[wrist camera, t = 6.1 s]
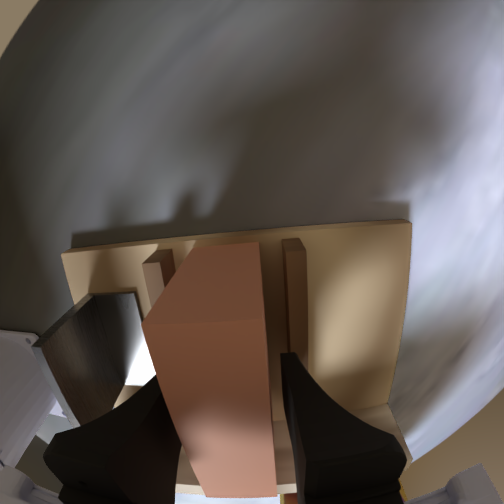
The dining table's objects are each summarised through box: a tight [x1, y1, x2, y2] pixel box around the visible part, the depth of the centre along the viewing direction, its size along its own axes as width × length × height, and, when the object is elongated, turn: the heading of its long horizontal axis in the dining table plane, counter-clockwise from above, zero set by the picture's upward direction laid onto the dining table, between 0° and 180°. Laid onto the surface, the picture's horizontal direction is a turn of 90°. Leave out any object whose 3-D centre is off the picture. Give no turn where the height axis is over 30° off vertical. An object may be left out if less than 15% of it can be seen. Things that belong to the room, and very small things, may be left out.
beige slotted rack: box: [61, 219, 413, 495], centre depth 14 cm, size 18×13×6 cm
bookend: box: [31, 291, 156, 428], centre depth 13 cm, size 3×6×6 cm, turn 5°
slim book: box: [141, 242, 277, 498], centre depth 12 cm, size 3×9×7 cm, turn 5°
